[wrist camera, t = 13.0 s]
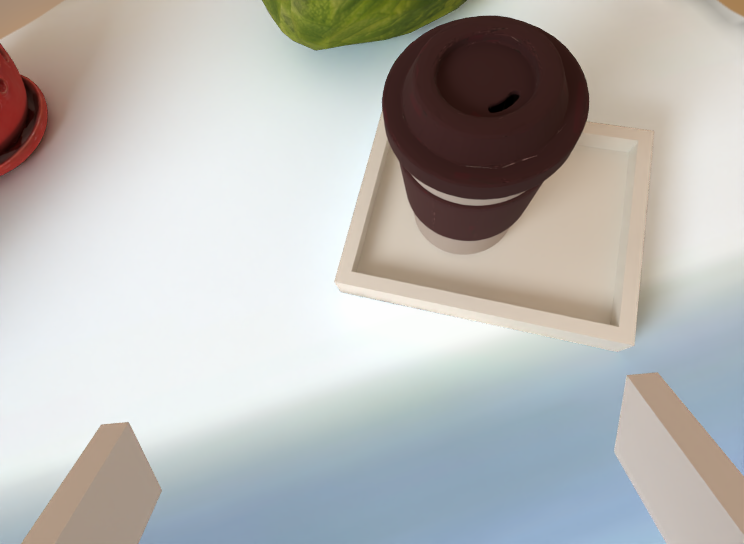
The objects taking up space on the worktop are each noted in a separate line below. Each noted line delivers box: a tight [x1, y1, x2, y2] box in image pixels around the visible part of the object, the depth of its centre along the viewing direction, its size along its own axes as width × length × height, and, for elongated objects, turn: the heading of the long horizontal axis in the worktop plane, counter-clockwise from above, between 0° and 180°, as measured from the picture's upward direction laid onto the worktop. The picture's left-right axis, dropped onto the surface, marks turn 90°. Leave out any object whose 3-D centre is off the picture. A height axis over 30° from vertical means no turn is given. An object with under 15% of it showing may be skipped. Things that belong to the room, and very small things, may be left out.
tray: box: [334, 110, 654, 352], centre depth 35 cm, size 20×16×3 cm
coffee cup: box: [382, 16, 589, 255], centre depth 28 cm, size 10×10×15 cm
